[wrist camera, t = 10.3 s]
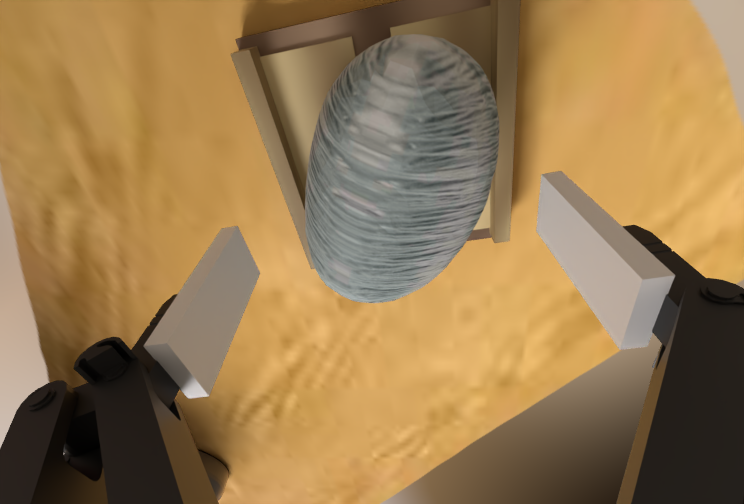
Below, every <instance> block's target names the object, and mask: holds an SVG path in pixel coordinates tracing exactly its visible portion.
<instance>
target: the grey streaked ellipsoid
mask: <svg viewBox="0 0 744 504" xmlns="http://www.w3.org/2000/svg"><path fill="white" fill-rule="evenodd" d="M498 149H499V116H498V110H497V105H496V101H495V97H494V93H493V90H492V88H491V85H490V83H489V80H488V78H487V76H486V74H485V73H484V71H483V69H482V68H481V66H480V65H479V64H478V63H477V62H476V61H475V60H474V59H473V58H472V57H471V56H470V55H469V54H468V53H467V52H466V51H465V50H463V49H461V48H460V47H458V46H456V45H454V44H452V43H450V42H449V41H447V40H445V39H443V38H439V37H433V36H428V35H423V34H409V35H395V36H392V37H390V38H387V39H385V40H383V41H381V42H378V43H376V44H374V45H372V46H370V47H369V48H367V49H366V50H365V51H363V52H362V53H360V54H359V55H358V56H356V57H355V58H354V59H353V60H352V61H351V62H350V63H349V64H348V65H347V66H346V67H345V69H344V70H343V71H342V72H341V74H340V75H339V76H338V78H337V79H336V80H335V82H334V83H333V85H332V86H331V88H330V90H329V91H328V93H327V95H326V98H325V100H324V102H323V105H322V108H321V111H320V113H319V116H318V120H317V124H316V128H315V132H314V136H313V140H312V144H311V149H310V155H309V162H308V171H307V181H306V196H305V232H306V237H307V242H308V246H309V251H310V255H311V258H312V262H313V264H314V267H315V269H316V271H317V273H318V274H319V276H320V278H321V279H322V280H323V281H324V283H325V284H326V285H327V286H328V287H330V288H331V289H333V290H334V291H335V292H337V293H338V294H340V295H342V296H344V297H346V298H348V299H350V300H353V301H357V302H366V303H380V302H388V301H394V300H396V299H399V298H401V297H403V296H406V295H408V294H410V293H412V292H414V291H416V290H418V289H420V288H422V287H423V286H425V285H426V284H428V283H429V282H430V281H432V280H433V279H434V278H435V277H436V276H437V275H439V274H440V273H441V272H442V271H443V270H444V269H445V268H446V267H447V265H448V264H449V263H450V262H451V260H452V259H453V258H454V257H455V255H456V254H457V253H458V252H459V251H460V249H461V248H462V247H463V245H464V244H465V242H466V241H467V239H468V238H469V236H470V234H471V233H472V231H473V229H474V227H475V226H476V224H477V222H478V220H479V218H480V216H481V214H482V212H483V210H484V207H485V205H486V202H487V199H488V196H489V193H490V188H491V183H492V179H493V176H494V173H495V170H496V165H497V159H498Z"/></svg>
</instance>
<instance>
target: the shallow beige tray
mask: <svg viewBox="0 0 744 504" xmlns="http://www.w3.org/2000/svg"><path fill="white" fill-rule="evenodd" d="M520 1H521V0H400V1H396V2H392V3H387V4H383V5H379V6H375V7H370V8H366V9H362V10H357V11H353V12H349V13H344V14H340V15H336V16H332V17H327V18H323V19H319V20H314V21H310V22H306V23H301V24H297V25H293V26H289V27H284V28H280V29H276V30H271V31H267V32H263V33H258V34H254V35H250V36H246V37H241V38H238V39H235V40H236V42H237V45H238V48H239V51H236V52H234V53H231V57H232V60H233V62H234V65H235V68H236V70H237V73H238V76H239V78H240V81H241V84H242V86H243V89H244V92H245V94H246V97H247V100H248V102H249V105H250V108H251V110H252V113H253V116H254V118H255V121H256V124H257V126H258V129H259V132H260V134H261V137H262V140H263V142H264V145H265V147H266V150H267V153H268V155H269V158H270V161H271V163H272V166H273V169H274V171H275V174H276V177H277V179H278V182H279V185H280V187H281V190H282V193H283V195H284V198H285V201H286V203H287V206H288V209H289V211H290V214H291V217H292V219H293V222H294V225H295V227H296V230H297V233H298V235H299V238H300V241H301V243H302V246H303V249H304V251H305V254H306V257H307V259H308V262H309V265H310V267H311V269H314V268H315V267H314V264H313V262H312V258H311V255H310V251H309V246H308V242H307V237H306V232H305V196H306V181H307V171H308V162H309V155H310V149H311V144H312V140H313V136H314V132H315V128H316V124H317V120H318V116H319V113H320V111H321V108H322V105H323V102H324V100H325V98H326V95H327V93H328V91H329V90H330V88H331V86H332V85H333V83H334V82H335V80H336V79H337V78H338V76H339V75H340V74H341V72H342V71H343V70H344V69H345V67H346V66H347V65H348V64H349V63H350V62H351V61H352V60H353V59H354V58H355V57H356V56H358V55H359V54H360V53H362V52H363V51H365V50H366V49H367V48H369V47H370V46H372V45H374V44H376V43H378V42H381V41H383V40H385V39H387V38H390V37H392V36H395V35H409V34H423V35H428V36H433V37H439V38H443V39H445V40H447V41H449V42H450V43H452V44H454V45H456V46H458V47H460V48H461V49H463V50H465V51H466V52H467V53H468V54H469V55H470V56H471V57H472V58H473V59H474V60H475V61H476V62H477V63H478V64H479V65H480V66H481V68H482V69H483V71H484V73H485V74H486V76H487V78H488V80H489V83H490V85H491V88H492V90H493V93H494V97H495V101H496V105H497V110H498V116H499V149H498V159H497V165H496V170H495V173H494V176H493V179H492V183H491V188H490V193H489V196H488V199H487V202H486V205H485V207H484V210H483V212H482V214H481V216H480V218H479V220H478V222H477V224H476V226H475V227H474V229H473V231H472V233H471V234H470V236H469V238H468V239H467V241H470V240H477V239H484V238H491V237H492V239H493V241H494V243H500V242H507V241H510V223H511V200H512V178H513V156H514V134H515V112H516V89H517V67H518V45H519V23H520Z"/></svg>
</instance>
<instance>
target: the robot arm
mask: <svg viewBox="0 0 744 504" xmlns="http://www.w3.org/2000/svg"><path fill="white" fill-rule="evenodd" d="M536 231H537V233H538V234H539V235H540V237H541V238H542V240H543V241H544V243H545V244H546V245H547V247H548V248H549V250H550V251H551V253H552V254H553V255H554V257H555V258H556V260H557V261H558V263H559V264H560V265H561V267H562V268H563V270H564V271H565V273H566V274H567V275H568V277H569V278H570V280H571V281H572V282H573V284H574V285H575V287H576V288H577V290H578V291H579V292H580V294H581V295H582V297H583V298H584V300H585V301H586V302H587V304H588V305H589V307H590V308H591V310H592V311H593V312H594V314H595V315H596V317H597V318H598V319H599V321H600V322H601V324H602V325H603V327H604V328H605V329H606V331H607V332H608V334H609V335H610V337H611V338H612V339H613V341H614V342H615V344H616V345H617V347H618V348H619V349H620V350H622V349H630V348H640V347H647V346H648V343H649V341H650V339H651V336H652V333H654V334H655V336H656V337H657V338H658V339H659V340H660V342H661V343H662V345H661V347H660V350H659V352H658V355H657V357H656V359H655V361H654V364H653V366H652V367H653V368H654V370H653V374H652V378H651V381H650V385H649V389H648V392H647V396H646V399H645V403H644V406H643V410H642V414H641V417H640V421H639V424H638V428H637V432H636V435H635V439H634V442H633V446H632V449H631V453H630V457H629V460H628V464H627V467H626V471H625V475H624V478H623V482H622V485H621V489H620V493H619V496H618V500H617V503H616V504H743V495H744V289H743V288H742V287H740V286H738V285H736V284H733V283H730V282H727V281H724V280H719V279H712V278H705V277H704V276H703V275H701V274H700V273H699V272H698V271H697V270H696V269H694V268H693V267H692V266H691V265H690V264H688V263H687V262H686V261H685V260H684V259H682V258H681V257H680V256H679V255H678V254H676V253H675V252H674V251H673V252H672V251H671V248H669V247H668V246H667V245H666V244H665V243H664V244H663V243H662V241H661V240H660V239H659V238H657V237H656V236H655V235H654V234H653V233H651V232H650V231H647V230H645V229H643V228H641V227H638V226H636V225H630V226H623V227H622V226H621V225H620V224H619V223H618V222H616V221H615V220H614V219H613V218H612V217H611V216H610V215H609V214H608V213H607V212H606V211H604V210H603V209H602V208H601V207H600V206H599V205H598V204H597V203H596V202H595V201H593V200H592V199H591V198H590V197H589V196H588V195H587V194H586V193H585V192H584V191H583V190H581V189H580V188H579V187H578V186H577V185H576V184H575V183H574V182H573V181H572V180H571V179H569V178H568V177H567V176H566V175H565V174H564V173H563V172H562V171H558V172H552V173H546V174H541V185H540V196H539V207H538V218H537V229H536ZM259 275H260V272H259V270H258V268H257V266H256V263H255V261H254V259H253V257H252V255H251V253H250V251H249V249H248V247H247V245H246V243H245V241H244V238H243V236H242V234H241V232H240V230H239V228H238V226H234V227H228V228H222V229H221V230H220V232H219V233H218V235H217V236H216V238H215V239H214V241H213V242H212V244H211V245H210V247H209V248H208V250H207V251H206V253H205V254H204V256H203V257H202V259H201V260H200V262H199V263H198V265H197V266H196V268H195V269H194V271H193V272H192V274H191V275H190V277H189V278H188V280H187V281H186V283H185V284H184V286H183V287H182V289H181V290H180V292H179V293H178V294H175V295H173V296H172V297H171V298H170V299H169V300H167V301H166V302H165V303H164V304H163V305H162V307H161V308H160V309H159V311H158V312H157V314H156V317H154V318H153V320H152V321H151V322H150V326H148V327H147V328H146V330H145V331H144V333H143V334H142V335H141V337H140V338H139V340H138V341H137V343H136V344H135V346H134V347H133V348H132V350H130V349H129V348H128V346H127V345H126V344H125V343H124V342H123V341H122V340H121V339H120V338H118V337H111V338H106V339H104V340H101V341H99V342H97V343H95V344H94V345H92V346H91V347H89V348H88V349H87V350H86V351H84V352H83V353H82V354H81V355H80V356H79V358H78V359H77V361H76V362H75V365H74V370H75V371H77V372H78V373H79V374H80V375H81V376H82V377H83V378H84V379H85V380H86V381H87V382H89V383H86V384H84V385H81V386H79V387H76V388H73V389H72V388H71V387H70V386H69V385H68V384H67V383H65V382H64V381H54V382H51V383H48V384H46V385H44V386H43V387H41V388H38V389H37V390H35V392H33V393H31V394H30V395H29V396H28V397H27V398H26V399H25V401H23V403H22V404H21V405H20V407H19V408H18V410H17V411H16V414H15V416H14V419H13V421H12V423H11V425H10V428H9V430H8V432H7V435H6V437H5V440H4V442H3V444H2V446H1V448H0V504H219V503H218V500H219V499H220V498H221V496H222V494H223V492H224V489H225V486H226V483H227V480H228V476H229V473H228V470H227V468H226V467H225V466H224V465H223V464H222V463H221V462H220V461H218V460H217V459H215V458H214V457H212V456H210V455H208V454H206V453H203V452H201V451H198V450H197V448H196V445H195V442H194V440H193V437H192V435H191V432H190V430H189V427H188V425H187V422H186V420H185V417H184V415H183V412H182V410H181V407H180V405H179V403H178V402H177V401H176V400H175V397H176V395H177V393H178V391H179V389H180V390H181V391H182V392H183V393H184V394H185V396H186V397H187V398H188V399H189V398H198V397H207V396H209V395H210V393H211V390H212V388H213V386H214V383H215V381H216V378H217V376H218V374H219V371H220V369H221V366H222V364H223V361H224V359H225V357H226V354H227V352H228V349H229V347H230V345H231V342H232V340H233V337H234V335H235V333H236V330H237V328H238V325H239V323H240V320H241V318H242V316H243V313H244V311H245V308H246V306H247V304H248V301H249V299H250V296H251V294H252V292H253V289H254V287H255V284H256V282H257V280H258V277H259ZM63 452H64V453H65V454H64V455H63Z"/></svg>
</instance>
